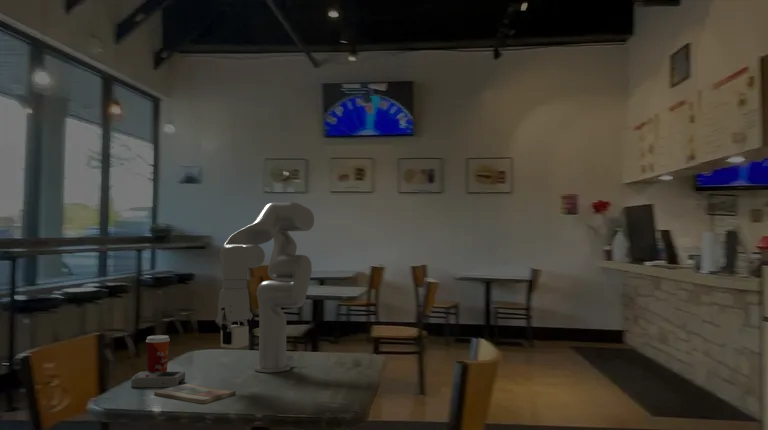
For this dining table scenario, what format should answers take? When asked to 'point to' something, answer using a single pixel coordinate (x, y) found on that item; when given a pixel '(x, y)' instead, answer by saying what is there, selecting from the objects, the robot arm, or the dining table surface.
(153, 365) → the paper cup
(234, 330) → the cream cube
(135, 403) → the dining table surface
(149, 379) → the handheld gaming device
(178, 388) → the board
